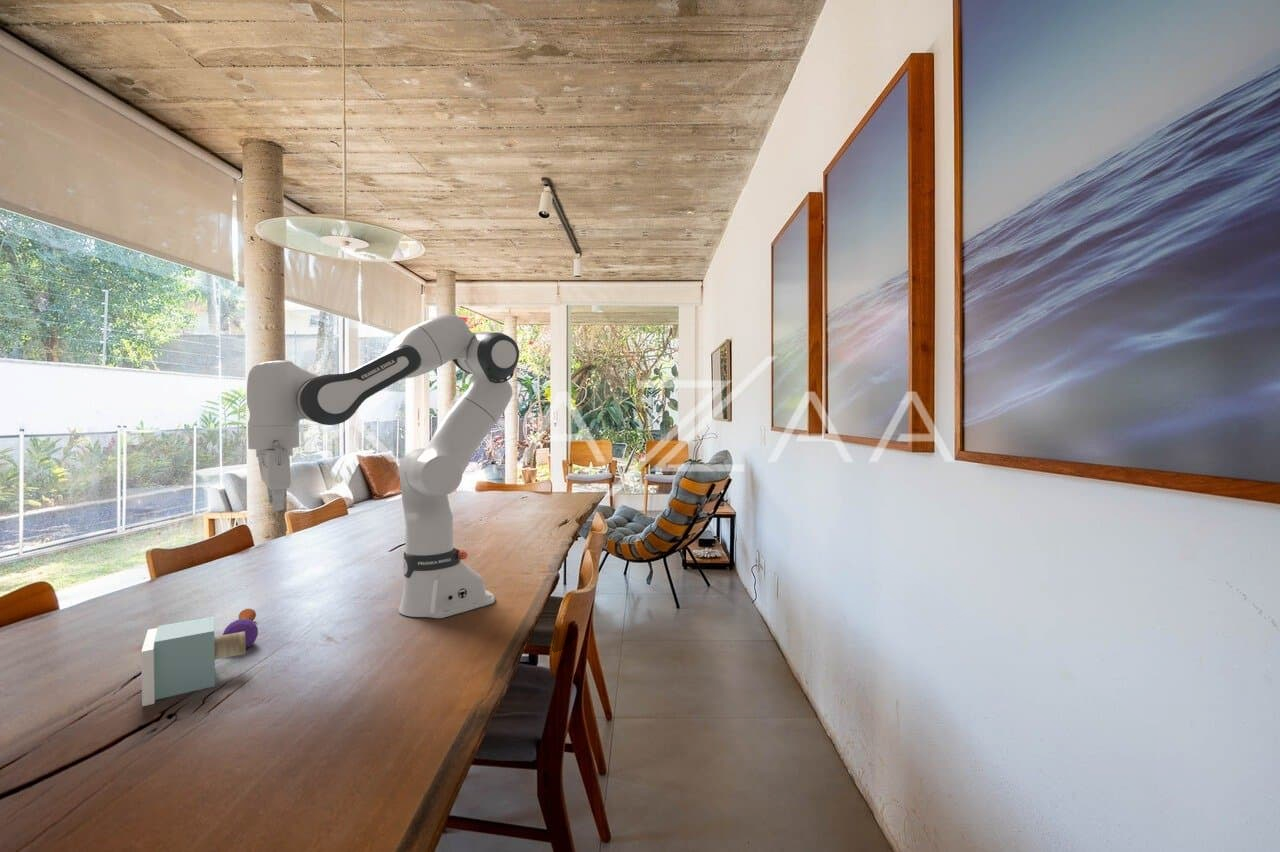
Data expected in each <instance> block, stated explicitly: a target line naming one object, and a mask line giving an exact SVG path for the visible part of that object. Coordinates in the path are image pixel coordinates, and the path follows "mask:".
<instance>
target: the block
mask: <svg viewBox="0 0 1280 852" xmlns="http://www.w3.org/2000/svg"><path fill="white" fill-rule="evenodd" d="M157 628H158V629H157V633H156V636H155V640H154V668H155V701H157V700H162V699H165V698H166V699H167V698H169V697H174V696H178V695H183V694H188V693H191V692H195V691H200V690H204V689H209V688H213V687H216V676H215V675H216V664H215V663H216V662H215V654H214V637H215V616H209V617H203V618H196V619H191V620H186V621H179V622H175V623H168V624H161V625H158V626H157Z"/></svg>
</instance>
